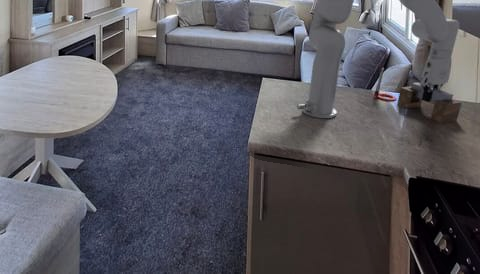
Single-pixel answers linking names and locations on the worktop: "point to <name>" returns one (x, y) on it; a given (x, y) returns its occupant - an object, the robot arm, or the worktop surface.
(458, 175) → the worktop surface
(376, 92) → the tow hook
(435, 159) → the worktop surface
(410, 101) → the posts
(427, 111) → the worktop surface
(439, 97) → the rail
